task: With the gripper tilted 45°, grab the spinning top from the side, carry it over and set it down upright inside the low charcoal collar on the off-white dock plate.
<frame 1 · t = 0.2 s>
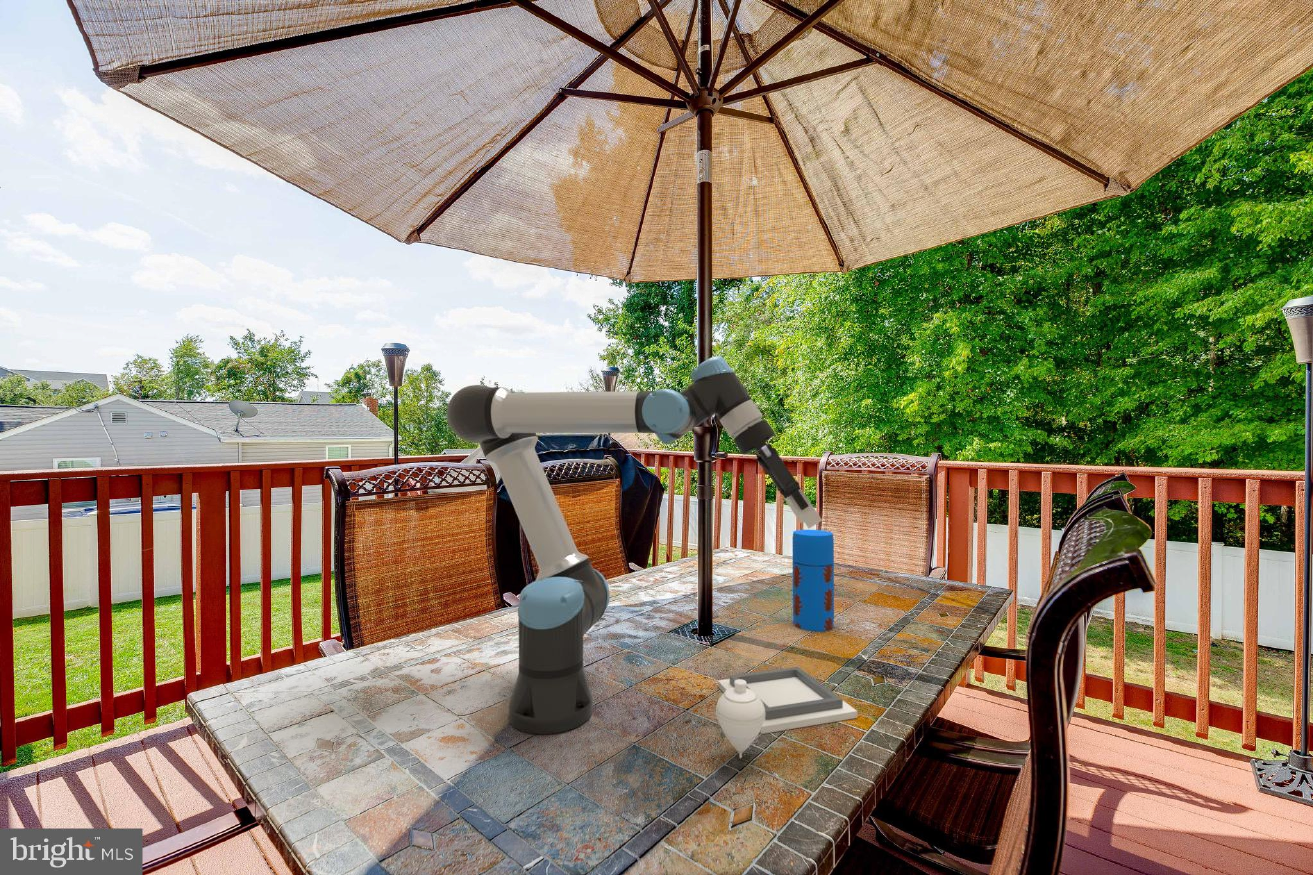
hand: (810, 522, 104), 34 cm above the table, tool tilted 35°, fingers open, 13 cm apart
spinning top: (740, 759, 86), on the table
thermos: (813, 625, 149), on the table
dock plate: (783, 701, 105), on the table
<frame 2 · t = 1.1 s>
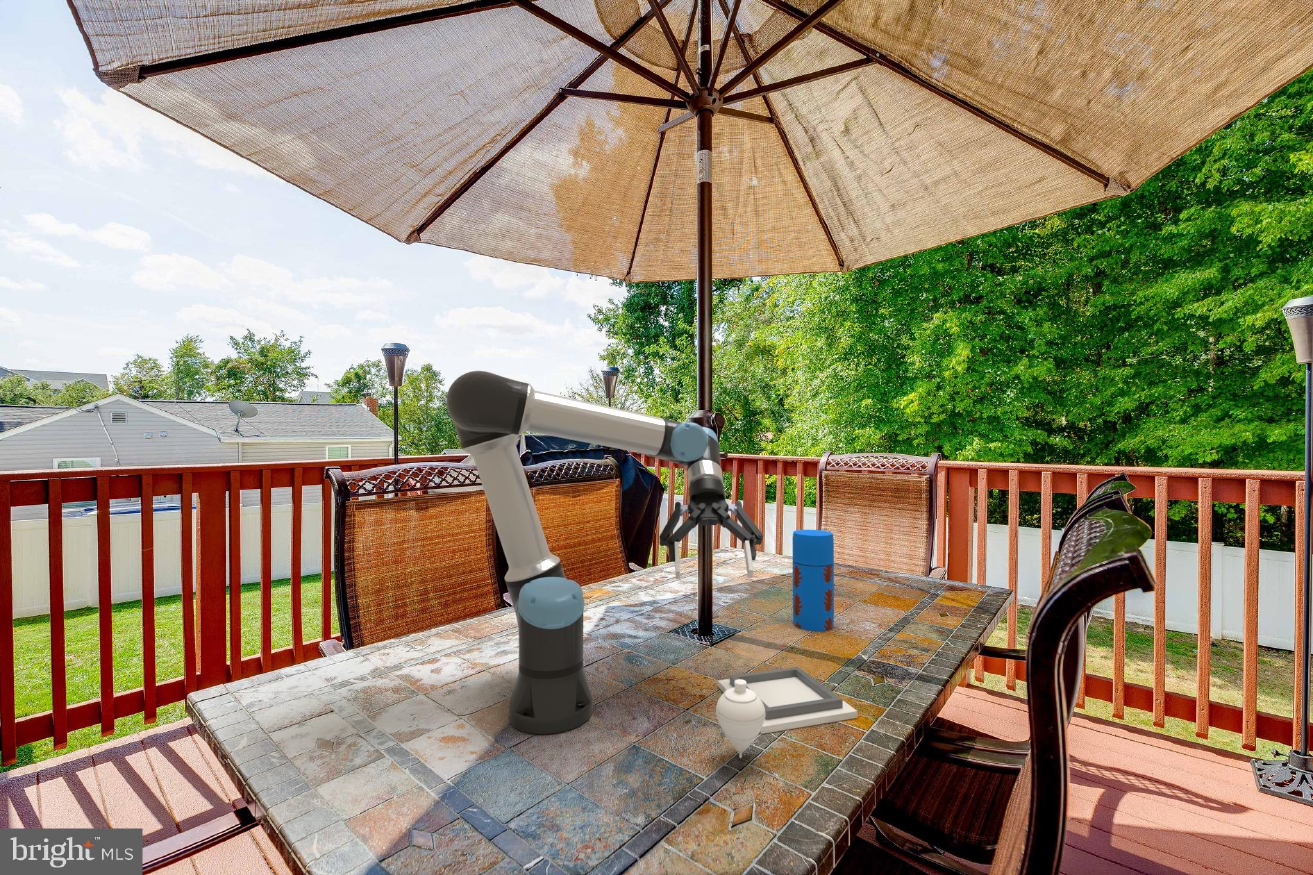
hand: (714, 574, 103), 25 cm above the table, tool tilted 45°, fingers open, 13 cm apart
nothing on the table moved.
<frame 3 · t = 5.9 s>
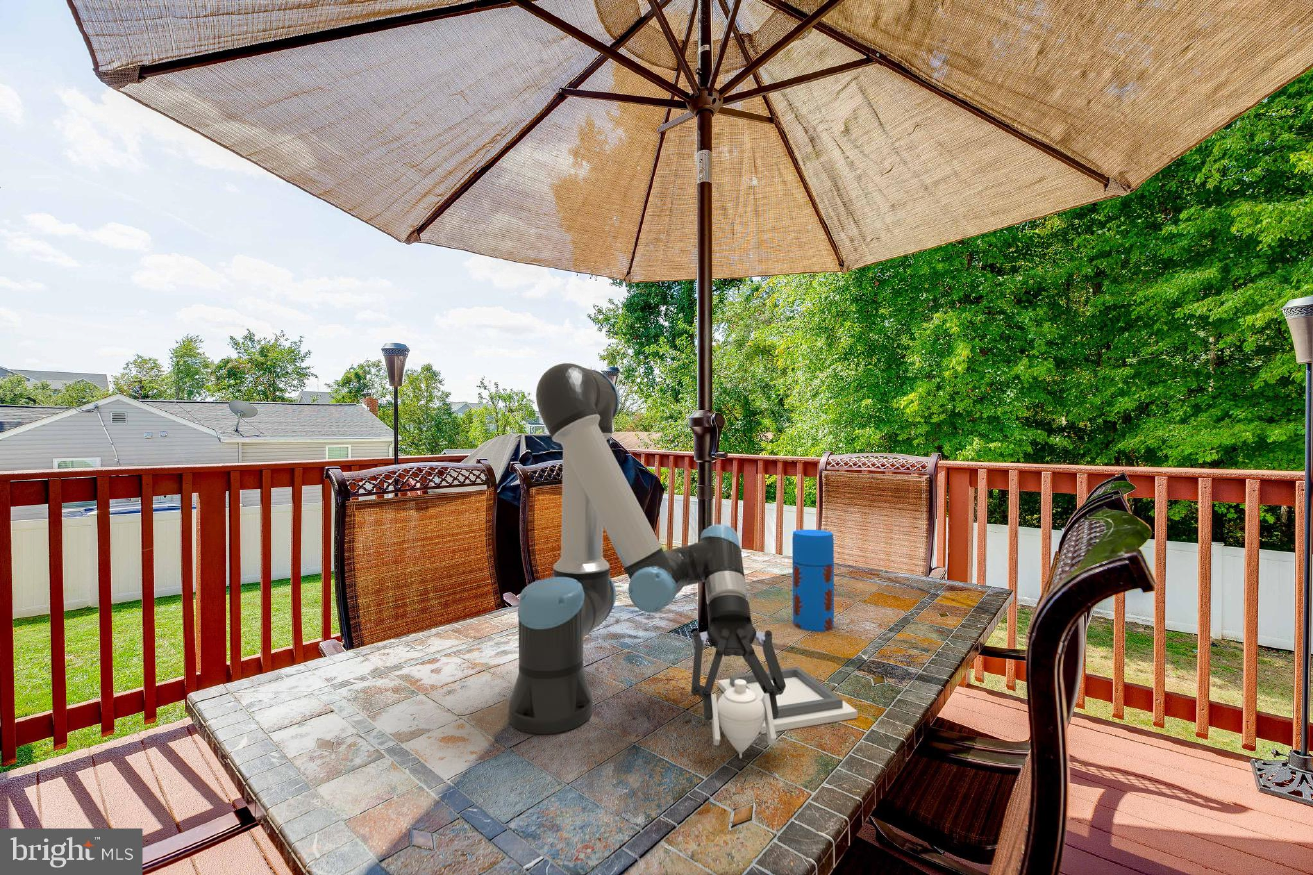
hand: (744, 741, 83), 4 cm above the table, tool tilted 45°, fingers closed on spinning top, 8 cm apart
spinning top: (740, 759, 86), on the table, touching gripper
everything else where it was.
when the fingers open (6 cm above the table, at t = 14.7 s): spinning top stays where it is, resting on dock plate.
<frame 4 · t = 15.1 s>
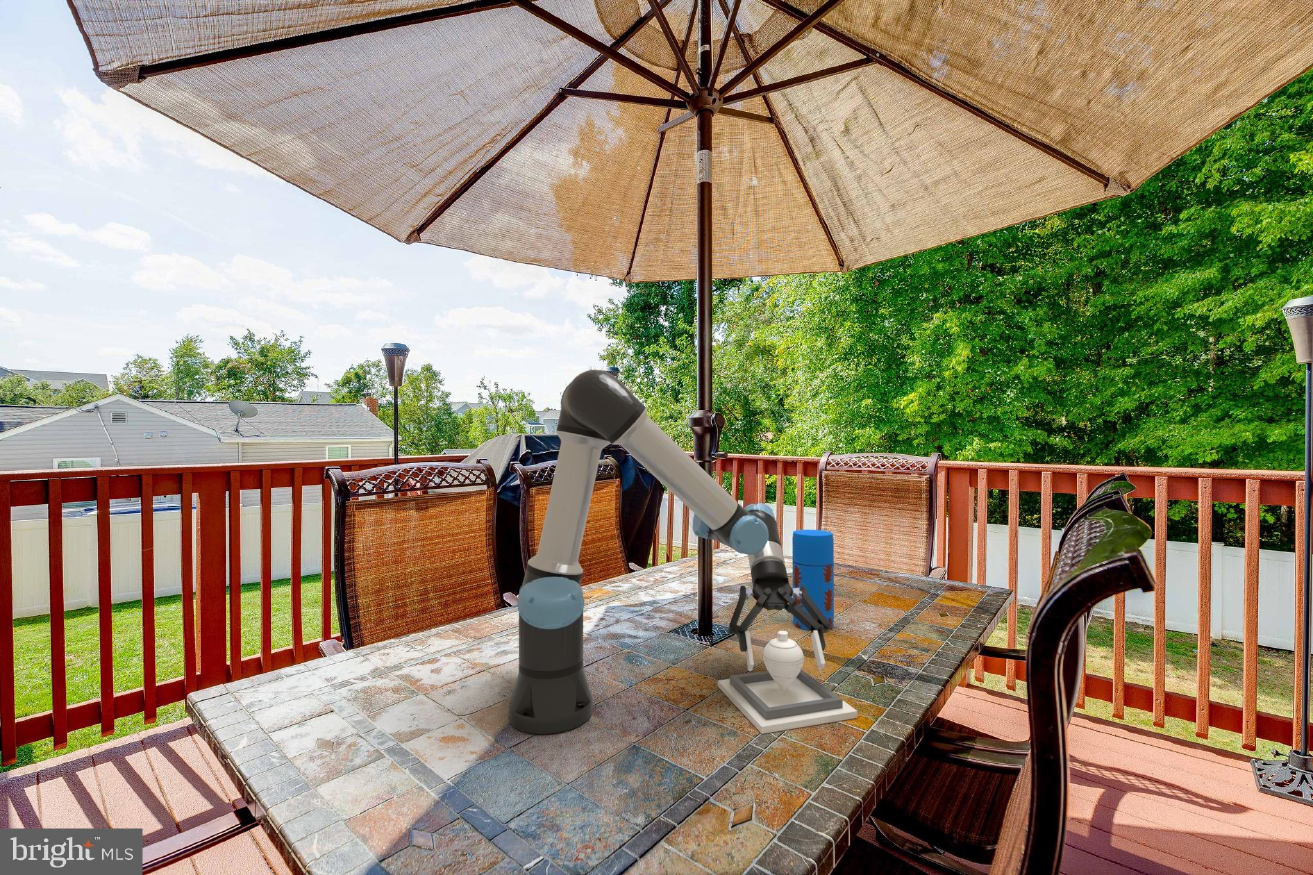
hand: (786, 667, 103), 7 cm above the table, tool tilted 45°, fingers open, 13 cm apart
spinning top: (783, 695, 105), point 1 cm above the table, touching dock plate
everything else where it was.
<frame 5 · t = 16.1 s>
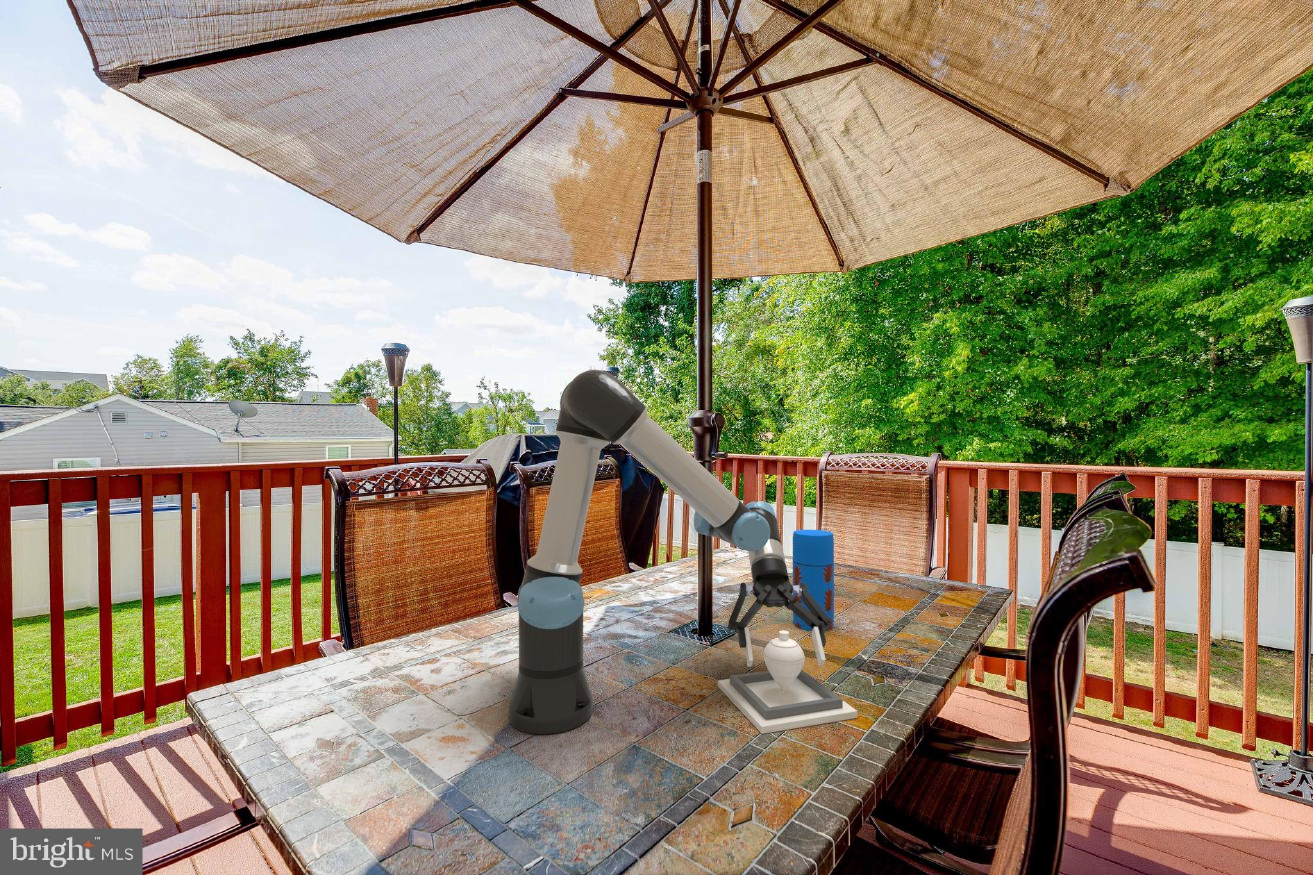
hand: (786, 663, 104), 8 cm above the table, tool tilted 45°, fingers open, 13 cm apart
nothing on the table moved.
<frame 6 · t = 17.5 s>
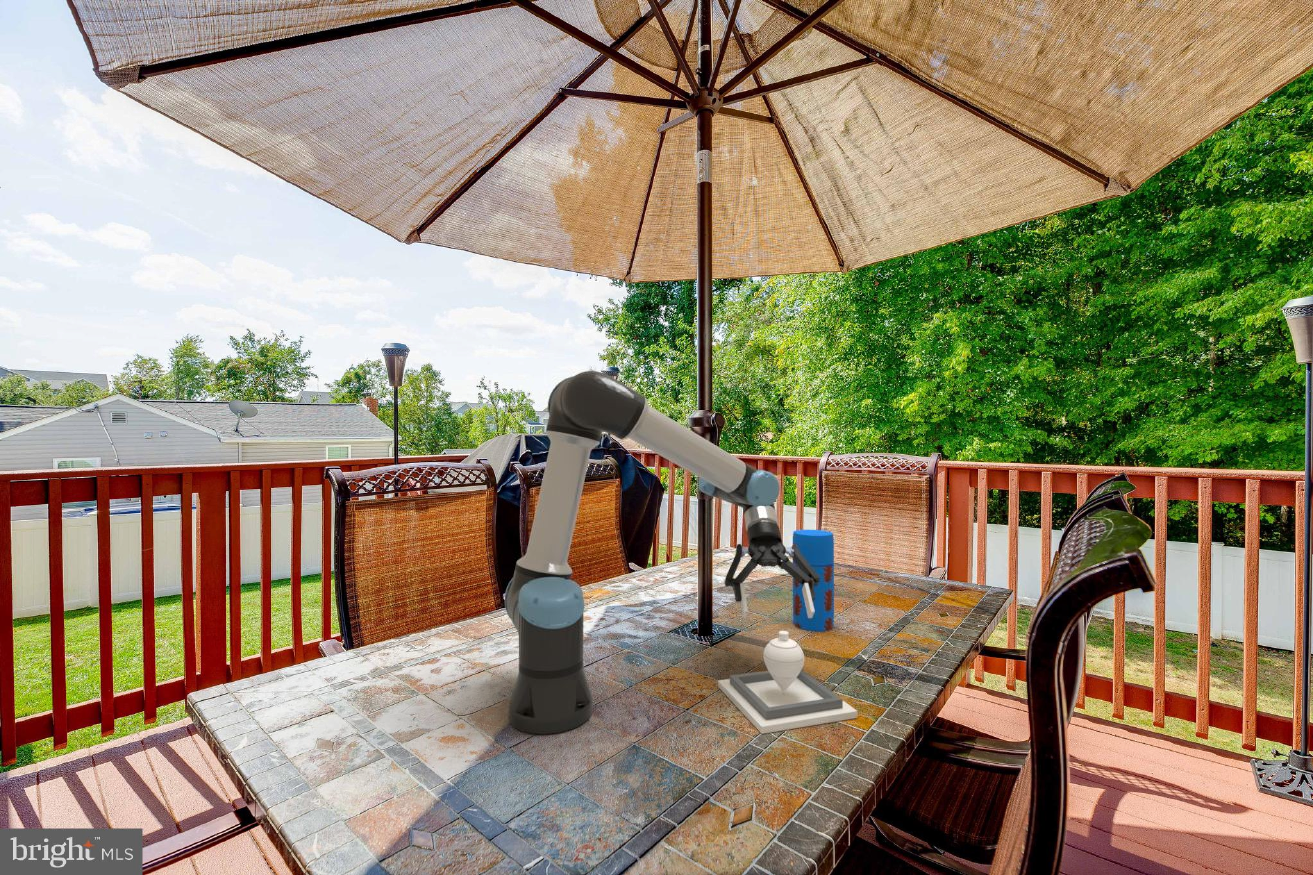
hand: (778, 615, 112), 14 cm above the table, tool tilted 45°, fingers open, 13 cm apart
nothing on the table moved.
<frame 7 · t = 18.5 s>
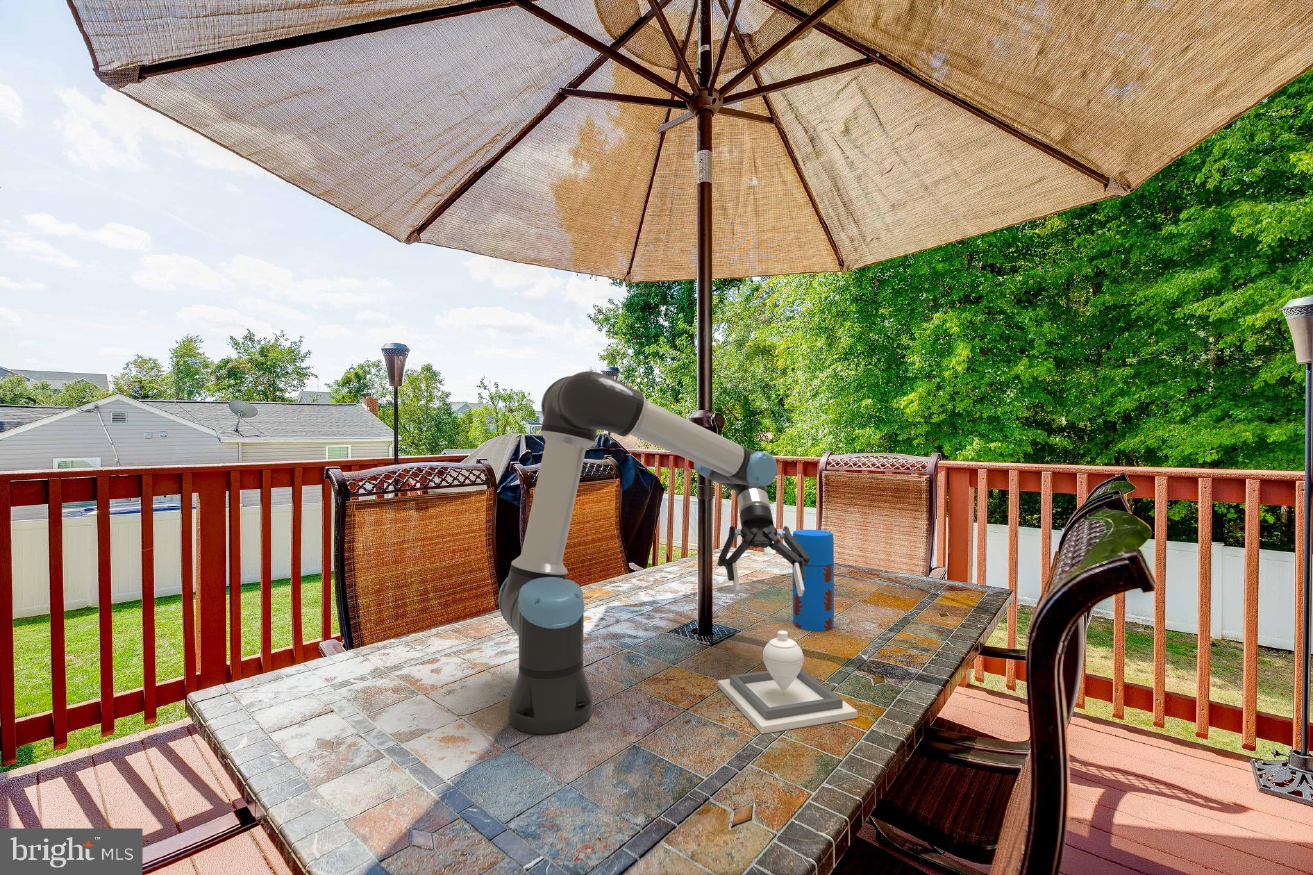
hand: (769, 593, 116), 18 cm above the table, tool tilted 45°, fingers open, 13 cm apart
nothing on the table moved.
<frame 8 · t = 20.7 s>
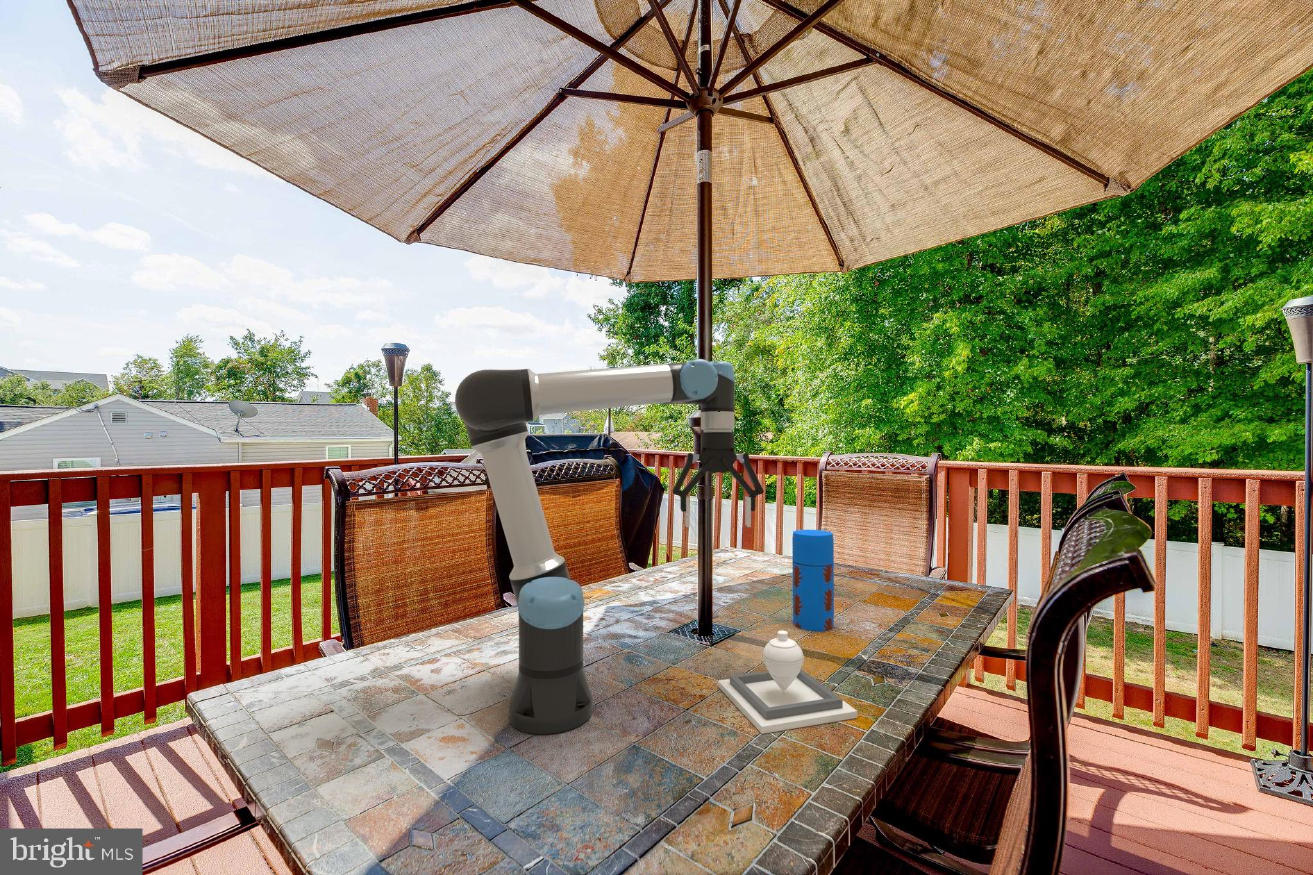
hand: (717, 526, 123), 31 cm above the table, tool pointing down, fingers open, 13 cm apart
nothing on the table moved.
at the end: spinning top 0.1 cm off-centre on the dock plate, point 1.0 cm above the dock plate's base; spinning top tilted 0°; the gripper is holding nothing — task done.
